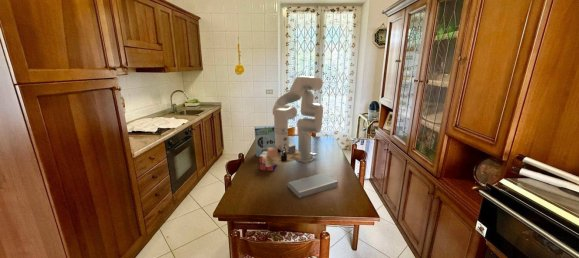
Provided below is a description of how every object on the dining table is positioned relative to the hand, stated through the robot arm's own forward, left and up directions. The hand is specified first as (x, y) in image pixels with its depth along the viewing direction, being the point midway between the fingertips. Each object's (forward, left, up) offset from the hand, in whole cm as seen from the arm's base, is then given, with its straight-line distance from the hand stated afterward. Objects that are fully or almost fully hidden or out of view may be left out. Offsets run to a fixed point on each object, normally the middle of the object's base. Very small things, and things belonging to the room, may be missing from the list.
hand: (281, 159), depth 138 cm
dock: (-14, +13, -15) cm, 24 cm away
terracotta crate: (+6, 0, +3) cm, 7 cm away
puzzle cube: (-1, -23, -16) cm, 28 cm away
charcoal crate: (-6, 0, +3) cm, 7 cm away
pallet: (0, 0, -1) cm, 1 cm away
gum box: (-10, -45, -15) cm, 48 cm away
